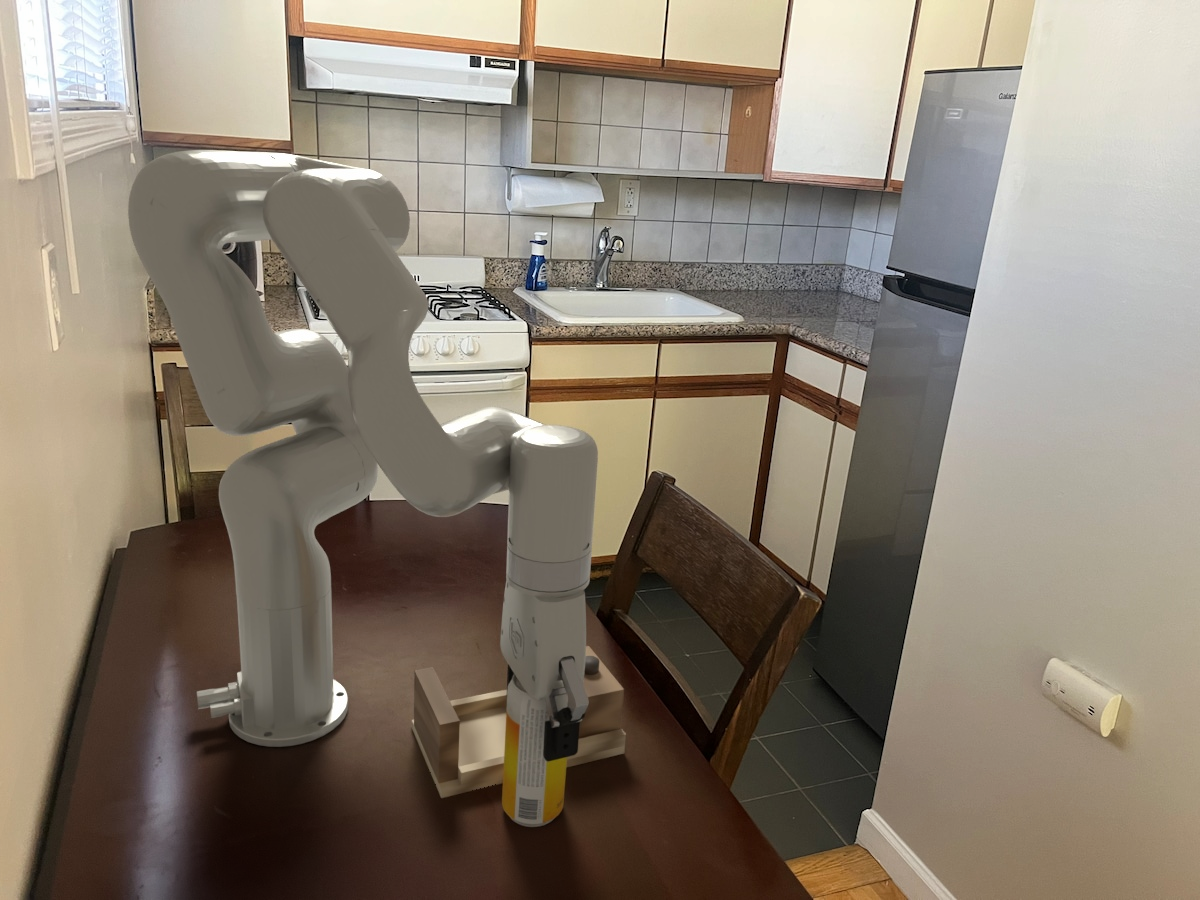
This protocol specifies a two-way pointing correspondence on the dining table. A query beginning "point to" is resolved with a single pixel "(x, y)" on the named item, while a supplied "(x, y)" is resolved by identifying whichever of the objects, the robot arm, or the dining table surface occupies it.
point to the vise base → (477, 737)
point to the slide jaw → (600, 698)
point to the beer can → (530, 760)
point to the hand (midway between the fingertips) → (540, 725)
